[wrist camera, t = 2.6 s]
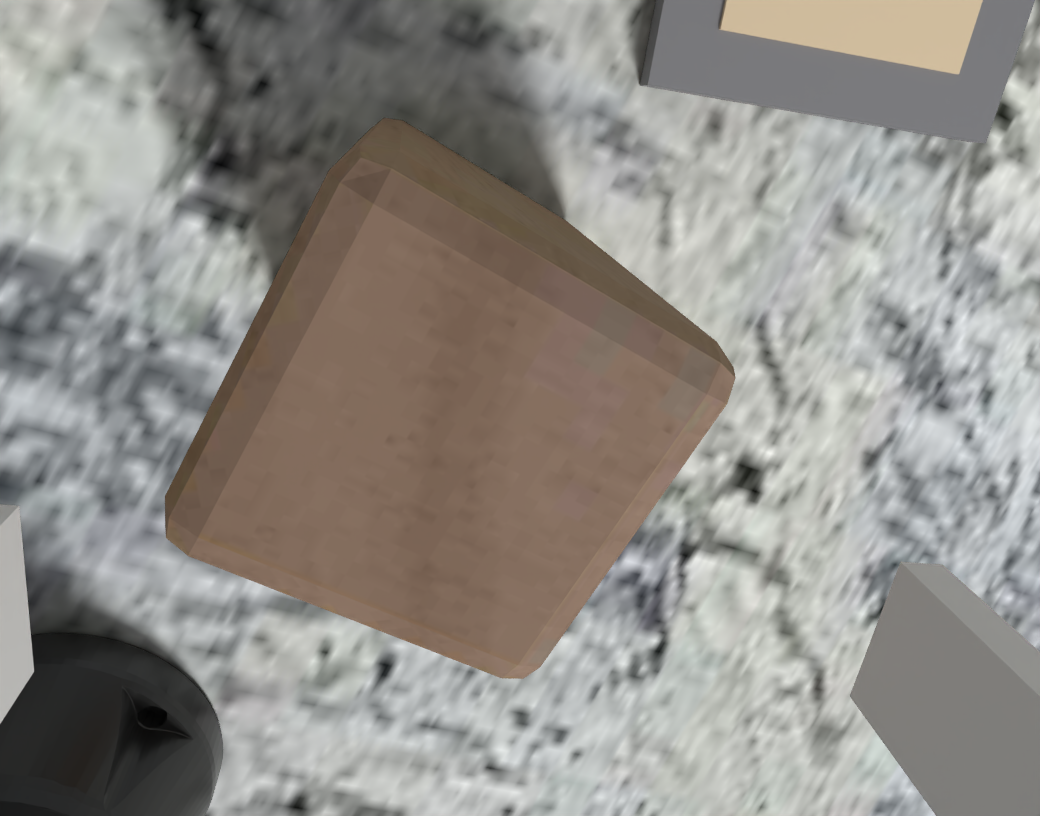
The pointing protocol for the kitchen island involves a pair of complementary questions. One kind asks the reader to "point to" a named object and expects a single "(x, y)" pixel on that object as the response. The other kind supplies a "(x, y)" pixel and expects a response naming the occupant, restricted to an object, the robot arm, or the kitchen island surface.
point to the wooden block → (444, 412)
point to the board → (845, 58)
